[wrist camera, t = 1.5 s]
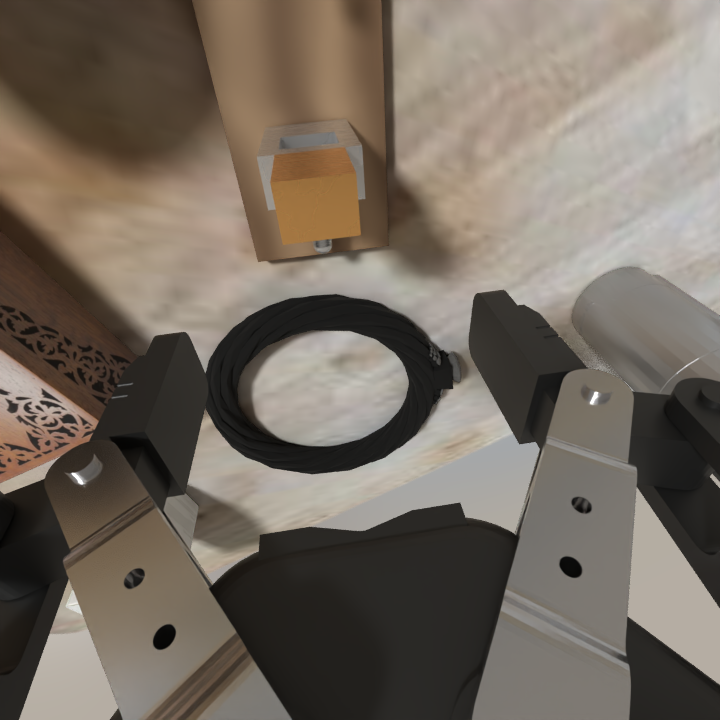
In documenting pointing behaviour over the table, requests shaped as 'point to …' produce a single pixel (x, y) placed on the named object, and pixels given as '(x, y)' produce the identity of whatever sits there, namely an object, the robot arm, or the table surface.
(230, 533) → the table surface
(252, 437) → the cable lock
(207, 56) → the board
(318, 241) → the end link
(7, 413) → the tissue box cover
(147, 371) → the robot arm
